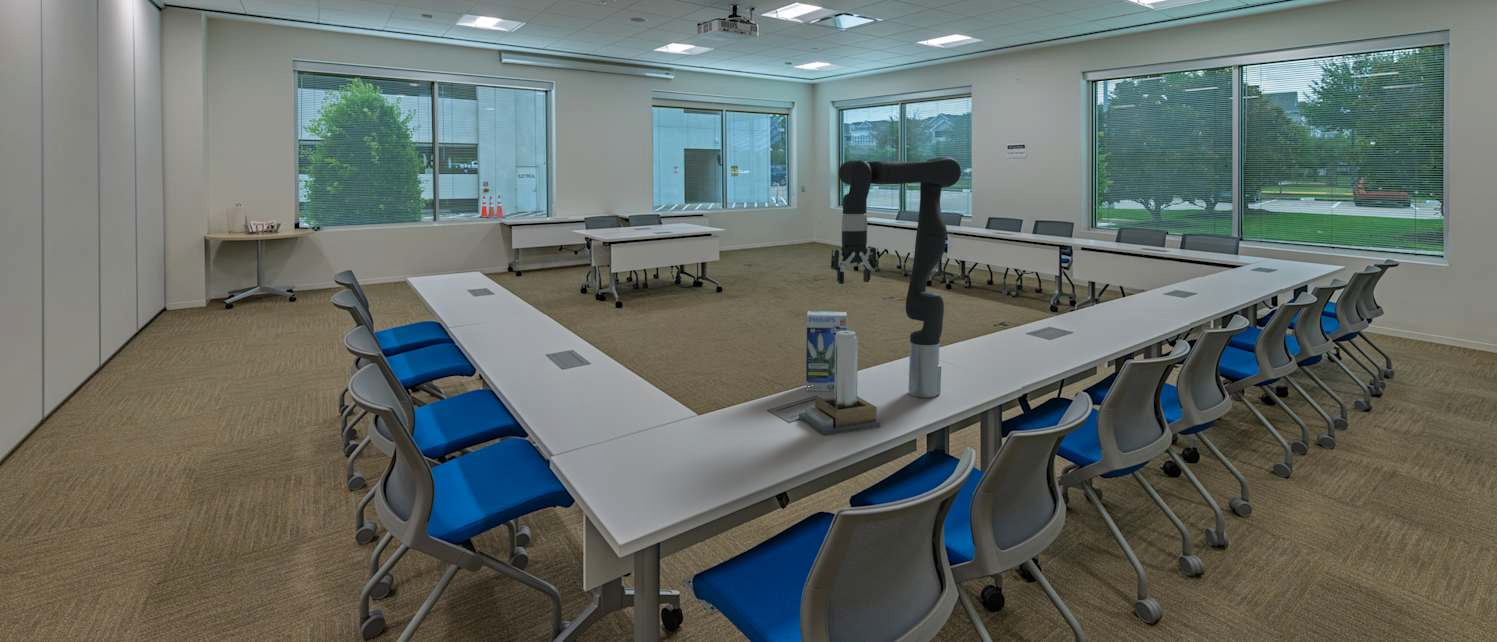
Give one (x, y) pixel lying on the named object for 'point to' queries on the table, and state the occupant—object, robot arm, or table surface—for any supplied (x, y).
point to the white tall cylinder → (845, 370)
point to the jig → (840, 417)
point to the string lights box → (822, 348)
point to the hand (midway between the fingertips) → (853, 282)
